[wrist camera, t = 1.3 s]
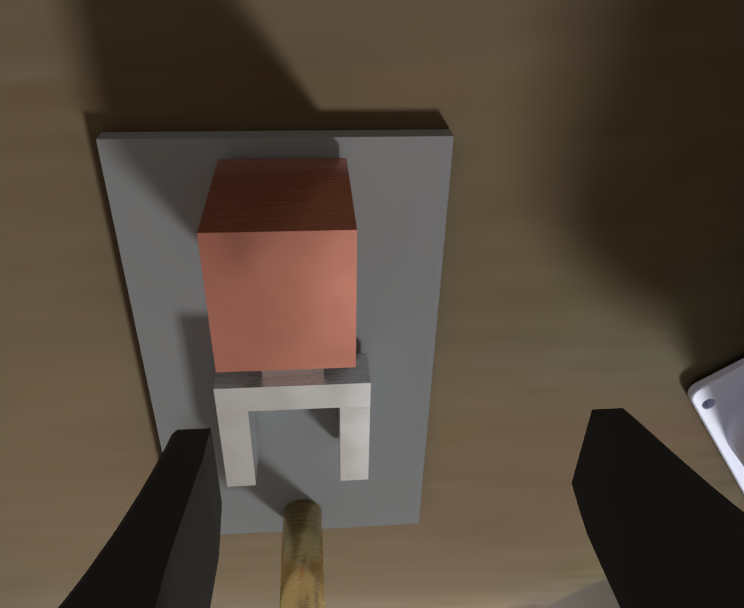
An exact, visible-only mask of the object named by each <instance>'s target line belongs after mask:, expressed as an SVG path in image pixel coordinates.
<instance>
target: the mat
mask: <svg viewBox="0 0 744 608" xmlns="http://www.w3.org/2000/svg"><path fill="white" fill-rule="evenodd" d="M453 139H454V136H453V134H452V132H451V130H450V129H423V130H296V131H169V132H101V133H100V135H99V136H98V137H97V139H96V142H97V147H98V151H99V156H100V161H101V166H102V170H103V175H104V180H105V184H106V189H107V194H108V199H109V203H110V208H111V213H112V218H113V222H114V227H115V232H116V236H117V241H118V246H119V251H120V255H121V260H122V265H123V270H124V274H125V279H126V284H127V288H128V293H129V298H130V303H131V307H132V312H133V317H134V321H135V326H136V331H137V336H138V340H139V345H140V350H141V355H142V359H143V364H144V369H145V373H146V378H147V383H148V388H149V392H150V397H151V402H152V406H153V411H154V416H155V421H156V425H157V430H158V435H159V440H160V444H161V449H162V453H163V451H164V449H165V447H166V445H167V443H168V441H169V439H170V437H171V435H172V434H173V433H174V432H175V431H176V430H182V429H202V428H211V431H212V438H213V445H214V452H215V459H216V465H217V472H218V479H219V486H220V493H221V499H222V514H221V531H220V535H224V534H241V533H259V532H276V531H282V523H283V510H284V508H285V506H286V505H287V504H289V503H291V502H293V501H296V500H311V501H313V502H315V503H317V504H318V505H319V506H320V507H321V510H322V529H328V528H346V527H363V526H380V525H398V524H415V523H419V514H420V503H421V492H422V481H423V470H424V459H425V448H426V437H427V426H428V415H429V404H430V393H431V382H432V371H433V360H434V349H435V338H436V327H437V316H438V305H439V294H440V283H441V272H442V261H443V250H444V239H445V227H446V216H447V205H448V194H449V183H450V172H451V161H452V150H453ZM287 158H347V165H348V171H349V178H350V185H351V192H352V198H353V205H354V212H355V219H356V225H357V296H356V353H367V358H368V365H369V373H370V381H371V394H370V432H369V471H368V479H366V480H346V481H340V465H339V448H338V408H317V409H293V410H270V411H254V413H255V423H256V433H257V443H258V465H257V478H256V485H250V486H230V487H227V481H226V474H225V467H224V459H223V452H222V445H221V438H220V431H219V424H218V417H217V410H216V403H215V396H214V383H215V377H216V370H215V363H214V355H213V348H212V341H211V333H210V326H209V319H208V312H207V304H206V297H205V290H204V283H203V275H202V268H201V261H200V253H199V246H198V239H197V230H198V227H199V224H200V220H201V217H202V213H203V210H204V206H205V203H206V199H207V196H208V192H209V189H210V185H211V182H212V178H213V175H214V171H215V168H216V164H217V161H218V159H287Z"/></svg>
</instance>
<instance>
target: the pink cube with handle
mask: <svg viewBox="0 0 744 608" xmlns="http://www.w3.org/2000/svg"><path fill="white" fill-rule="evenodd" d="M197 239H198V246H199V253H200V261H201V268H202V275H203V283H204V290H205V297H206V304H207V312H208V319H209V326H210V333H211V341H212V348H213V355H214V363H215V370H216V377H215V383H214V396H215V403H216V410H217V417H218V424H219V431H220V438H221V445H222V452H223V459H224V467H225V474H226V481H227V487H230V486H250V485H256V478H257V465H258V443H257V433H256V423H255V413H254V411H270V410H293V409H317V408H338V448H339V465H340V481H346V480H366V479H368V471H369V432H370V394H371V381H370V373H369V365H368V358H367V353H356V296H357V225H356V219H355V212H354V205H353V198H352V192H351V185H350V178H349V171H348V165H347V158H287V159H218V161H217V164H216V168H215V171H214V175H213V178H212V182H211V185H210V189H209V192H208V196H207V199H206V203H205V206H204V210H203V213H202V217H201V220H200V224H199V227H198V230H197Z"/></svg>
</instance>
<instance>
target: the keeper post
mask: <svg viewBox="0 0 744 608" xmlns="http://www.w3.org/2000/svg"><path fill="white" fill-rule="evenodd" d="M280 608H325V605H324V571H323V537H322V510H321V507H320V506H319V505H318V504H317V503H315V502H313V501H311V500H296V501H293V502H291V503H289V504H287V505H286V506H285V508H284V510H283V523H282V555H281V587H280Z"/></svg>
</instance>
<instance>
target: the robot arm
mask: <svg viewBox="0 0 744 608" xmlns="http://www.w3.org/2000/svg"><path fill="white" fill-rule="evenodd" d="M687 394H688V397H689V399H690V401H691V403H692V404H693V406H694V408H695V410H696V411H697V413H698V415H699V417H700V418H701V420H702V422H703V424H704V425H705V427H706V429H707V431H708V432H709V434H710V436H711V438H712V440H713V441H714V443H715V445H716V447H717V448H718V450H719V452H720V454H721V455H722V457H723V459H724V461H725V462H726V464H727V466H728V468H729V469H730V471H731V473H732V475H733V477H734V478H735V480H736V482H737V484H738V485H739V487H740V489H741V491H742V492H743V494H744V358H743V359H741V360H739V361H737V362H735V363H733V364H731V365H729V366H727V367H725V368H723V369H721V370H719V371H717V372H715V373H714V374H712V375H710V376H708V377H706V378H704V379H702V380H700V381H698V382H696V383H695V384H693V385H692V386H691V387H690V388H689V390H688V393H687ZM706 400H707V401H706ZM704 401H705V402H704ZM572 486H573V489H574V493H575V496H576V499H577V503H578V506H579V510H580V513H581V516H582V519H583V522H584V525H585V528H586V532H587V534H588V536H589V539H590V541H591V543H592V546H593V548H594V550H595V553H596V555H597V557H598V559H599V562H600V564H601V566H602V568H603V570H604V573H605V575H606V577H607V579H608V581H609V584H610V586H611V588H612V590H613V593H614V595H615V597H616V599H617V601H618V604H619V605H620V608H744V512H743V511H741V510H740V509H739V508H738V507H736V506H735V505H734V504H733V503H731V502H730V501H729V500H728V499H727V498H725V497H724V496H723V495H722V494H720V493H719V492H718V491H717V490H716V489H714V488H713V487H712V486H711V485H710V484H709V483H707V482H706V481H705V480H704V479H703V478H702V477H700V476H699V475H698V474H697V473H696V472H695V471H693V470H692V469H691V468H690V467H689V466H688V465H686V464H685V463H684V462H683V461H682V460H681V459H680V458H679V457H677V456H676V455H675V454H674V453H673V452H672V451H671V450H670V449H668V448H667V447H666V446H665V445H664V444H663V443H662V442H661V441H659V440H658V439H657V438H656V437H655V436H654V435H653V434H652V433H651V432H649V431H648V430H647V429H646V428H645V427H644V426H643V425H642V424H640V423H639V422H638V421H637V420H636V419H635V418H634V417H632V416H631V415H630V414H629V413H628V412H627V411H625V410H624V409H623V408H617V409H596V410H592V412H591V416H590V419H589V423H588V426H587V430H586V434H585V437H584V441H583V444H582V448H581V452H580V455H579V459H578V462H577V466H576V470H575V473H574V477H573V480H572ZM221 514H222V499H221V493H220V486H219V479H218V472H217V465H216V459H215V452H214V445H213V438H212V431H211V428H202V429H182V430H176V431H175V432H174V433H173V434H172V435H171V437H170V439H169V441H168V443H167V445H166V447H165V449H164V451H163V453H162V454H161V456H160V458H159V460H158V462H157V464H156V466H155V467H154V469H153V471H152V473H151V474H150V476H149V478H148V479H147V481H146V483H145V485H144V486H143V488H142V490H141V491H140V493H139V495H138V496H137V498H136V499H135V501H134V503H133V504H132V506H131V507H130V509H129V510H128V512H127V514H126V515H125V517H124V518H123V520H122V521H121V523H120V525H119V526H118V528H117V529H116V531H115V532H114V534H113V535H112V536H111V538H110V539H109V541H108V542H107V543H106V545H105V546H104V548H103V549H102V551H101V552H100V553H99V555H98V556H97V558H96V559H95V560H94V562H93V563H92V565H91V566H90V567H89V569H88V570H87V572H86V573H85V574H84V576H83V577H82V578H81V580H80V581H79V582H78V583H77V585H76V586H75V587H74V589H73V590H72V591H71V592H70V594H69V595H68V596H67V598H66V599H65V600H64V601H63V603H62V604H61V605H60V606H59V607H58V608H210V605H211V599H212V593H213V587H214V582H215V576H216V570H217V564H218V558H219V545H220V531H221Z"/></svg>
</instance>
